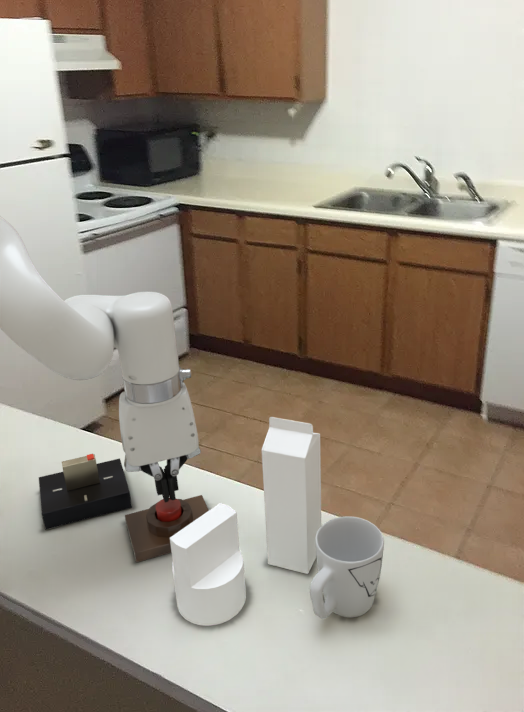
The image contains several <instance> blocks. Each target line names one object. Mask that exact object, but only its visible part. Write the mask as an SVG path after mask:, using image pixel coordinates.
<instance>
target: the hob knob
mask: <svg viewBox="0 0 524 712" xmlns="http://www.w3.org/2000/svg"><path fill="white" fill-rule="evenodd" d="M97 464H98V463H97V458H96V455H95V453H89V454H86V455H84V456H79V457H75V458H71V459H67V460H62V461H61V466H62V472H63V473H64V477H65V482H66V487H67V491H69V490H73V489H77V488H81V487H85V486H89V485H93V484H97V483H100V481H99V475H98V469H97Z"/></svg>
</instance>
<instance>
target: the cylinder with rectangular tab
mask: <svg viewBox="0 0 524 712" xmlns="http://www.w3.org/2000/svg"><path fill="white" fill-rule="evenodd" d="M238 525H239V524H238V512H237V511H236V510H235V509H234V508H233V507H231V506H230V505H228V504H226V503H222V502H219V503H217V504H216V505H215V506H213V507H212V508H210V509H209V511H208V512H206V513H205V514H203V515H202V516H200V517H199V518H198V519H196V520H195V521H193V522H192V523H190V524H189V525H187V526H186V527H185V528H183V529H182V530H180V531H179V532H177V533H176V534H174V535H173V536H172V537H170V544H171V558H172V564H171V566H172V577H173V584H174V592H175V593H174V594H175V600H176V608H177V611H178V612H179V614H180V615H181V617H183V618H184V619H185V620H186V621H188V622H189V623H191V624H192V625H193V624H194V625H198V626H206V627H207V626H209V627H210V626H216V625H217V626H218V625H221V624H223V623H226V622H228V621H230V620H231V619H233V618H234V617H236V616H237V615H238V614H239V613H240V612H241V610H242V609H243V607H244V605H245V603H246V599H247V589H246V576H245V575H246V574H245V564H244V563H245V562H244V556H243V553H242V551H241V549H240V539H239V538H240V537H239V526H238Z"/></svg>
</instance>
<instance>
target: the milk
mask: <svg viewBox="0 0 524 712" xmlns="http://www.w3.org/2000/svg"><path fill="white" fill-rule="evenodd" d="M268 425H269V426H268V430H267V433H266V436H265V438H264V442H263V444H262V446H261V465H262V482H263V500H264V521H265V534H266V535H265V537H266V552H267V553H266V554H267V564H268V565H269V566H274V567H278V568H282V569H286V570H289V571H294V572H298V573H302V574H305V575H309V573H310V571H311V569H312V567H313V565H314V563H315V560H317V557H316V547H315V538H316V534H317V531H318V530H319V528H320V527H321V526H322V480H321V479H322V470H321V469H322V468H321V465H322V464H321V463H322V462H321V461H322V460H321V433H319V432H314V426H313V424H312V423H310V422H305V421H298V420H292V419H286V418H281V417H275V416H270V417H269V418H268Z"/></svg>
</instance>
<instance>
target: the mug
mask: <svg viewBox="0 0 524 712" xmlns="http://www.w3.org/2000/svg"><path fill="white" fill-rule="evenodd" d="M315 547H316V564H317V573H316V574H315V575H314V576H313V578H312V580H311V582H310V584H309V597H310V601H311V604H312V609H313V612H314V614H315V616H317V617H318V618H319V619H322V620H323V619H326V618H328V617H329V616H330V615H331V614H333V613H334V614H335V615H337V616H340V617H342V618H343V617H344V618H357V617H361V616H363V615H364V614H366V613H368V611H370V610H371V608H372V606H373V604H374V601H375V598H376V594H377V590H378V586H379V583H380V579H381V575H382V574H381V573H382V566H383V559H384V550H385V540H384V536H383V533H382V531H381V530H380V528H378V526H377V525H376V524H374V523H373V522H371V521H369V520H367V519H365V518H362V517H358V516H351V515H350V516H337V517H335V518H332V519H329V520H327V521H325V522H323V524H321V527H320V528H319V530H318V531H317V534H316V538H315Z"/></svg>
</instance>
